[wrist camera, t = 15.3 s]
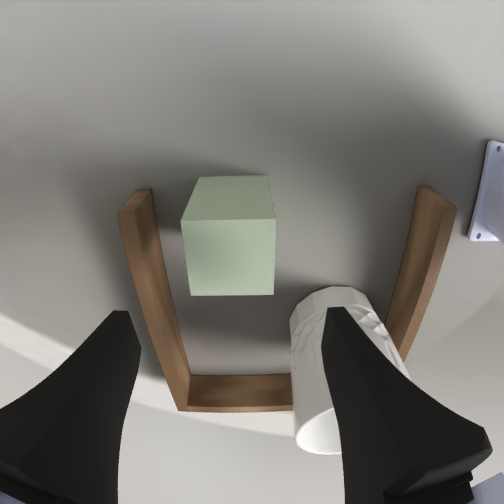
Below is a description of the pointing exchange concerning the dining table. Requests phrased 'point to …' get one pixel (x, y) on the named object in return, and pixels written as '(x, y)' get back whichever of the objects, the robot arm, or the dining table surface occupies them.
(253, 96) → the dining table surface
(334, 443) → the white cup
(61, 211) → the dining table surface
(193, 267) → the block
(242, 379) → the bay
